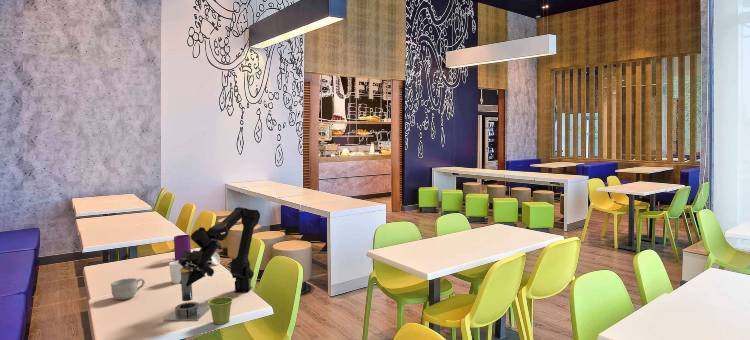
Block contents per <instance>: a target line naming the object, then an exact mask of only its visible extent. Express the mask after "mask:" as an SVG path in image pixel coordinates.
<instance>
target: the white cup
mask: <svg viewBox="0 0 750 340" xmlns="http://www.w3.org/2000/svg"><path fill="white" fill-rule="evenodd" d="M178 262H179V261H175V260H174V261H170V262H169V264H168V266H169V273H170V282H171V283H172V284H180V281H181V272H180V269H182V268H183V267H182V266H181V265H180V264H179V263H178Z"/></svg>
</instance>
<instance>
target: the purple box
mask: <svg viewBox="0 0 750 340" xmlns="http://www.w3.org/2000/svg"><path fill="white" fill-rule="evenodd" d="M173 247H174V261H179V260H180V259H182V258H181V257H182V254H183V251H184V250H185V251H189V252H192V245H191V234H190V235H189V234H179V235H178V234H177V235H175V236H174V237H173ZM184 259H185V258H184ZM188 260H189V259H188Z"/></svg>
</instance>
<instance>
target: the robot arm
mask: <svg viewBox="0 0 750 340" xmlns="http://www.w3.org/2000/svg"><path fill="white" fill-rule="evenodd" d="M260 218H261V213H260V212H259V210H258V209H252V208H250V209H249V208H247V207H242V206H241V207H239V206H238V207H235V208H234V210H233V211H231V213H230V214H229V215H227V216H226V217H225V219H223V220H222V221H221V222H219V223H217V224H214V225H212V226H210V227H209V229H207V230H206V229H205V227H201V226H200V227H199V228H198V229H196V230H195V231H193V232H192V233H191V234H190V240H191V241H193V243H195V244H196V246H198V247H199V248H201V249H199V250H193V251H191V252H189V251H185V250H184V251H183V254H182V257H181V258H182V259H180V260H179V262H178V263H179V264H180V265H181V266H182V267H183V268H187V267H190V268H192V271H191V276H190V278H189V280H188V281H187V283H186V286H189V285H191V284H192V285H193V284H194V283H195V282H197V281H199V280H201V279H202V278H205V277H206V276H207V277H211V278H212V277H213V276H214V274H215V269H214V268H212V267H211V266H210V265H207V263H208V261H211V260H212V259H211V257H212V255H213V254H214V253H216V251H217V250H220V251H221V250H222V245H221V243H220V242H223V241H225V240H226V238H227V236H229V233H230V232H229V231H230V230H231V229H232V228H233V227H234V226H235V225H236V224H237V223H238V222H239V221H240V220H241V224H242V227H243V228H242V231H241V235H240V236H241V237H240V243H239V247H238V251H237V256H236V257H235V258H233V259H232V260H231V264H230V267H229V269H230V273H231V276H232V279H235V281H234V293H249V292H250V291H251V290H252V288H253V287H252V286H251V285H252V284H251V283H252V281H251V279H252V278H254V275H255V274H254V271H253V270H252V269H251V268H250V267H251V263H250V260H249V255H250V248H251V243H252V238H253V234H254V229H255V228H256V226H257V225H258V224H259V222H260ZM219 241H220V242H219ZM184 258H185V259H184ZM188 259H189V260H188ZM179 284H180V285H181V281H180V283H179Z"/></svg>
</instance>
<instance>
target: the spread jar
mask: <svg viewBox="0 0 750 340" xmlns="http://www.w3.org/2000/svg"><path fill="white" fill-rule="evenodd" d="M199 248H200V249H201V247H199ZM200 249H199V250H200ZM211 259H212V260H211V261H208V263H207V265H208V266H210V265H213V266H217V265H219V264H220V263H221V257H220V255H219V254H218V253H217V252H215V253H214V254H213V255H212V257H211Z"/></svg>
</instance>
